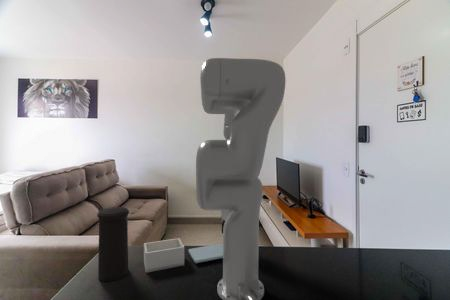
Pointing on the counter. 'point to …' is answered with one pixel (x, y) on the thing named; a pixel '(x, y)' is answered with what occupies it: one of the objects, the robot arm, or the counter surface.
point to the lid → (206, 253)
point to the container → (113, 243)
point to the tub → (163, 254)
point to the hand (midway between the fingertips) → (230, 237)
